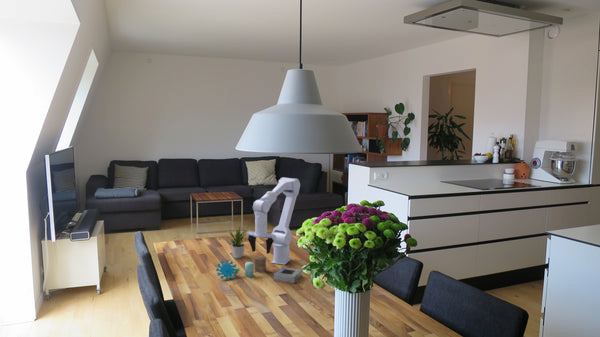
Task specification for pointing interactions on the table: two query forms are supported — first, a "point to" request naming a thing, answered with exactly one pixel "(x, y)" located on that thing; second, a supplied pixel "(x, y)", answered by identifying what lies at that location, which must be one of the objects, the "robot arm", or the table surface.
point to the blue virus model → (227, 270)
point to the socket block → (287, 275)
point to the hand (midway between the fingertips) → (260, 252)
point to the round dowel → (249, 269)
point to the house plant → (238, 243)
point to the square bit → (260, 264)
